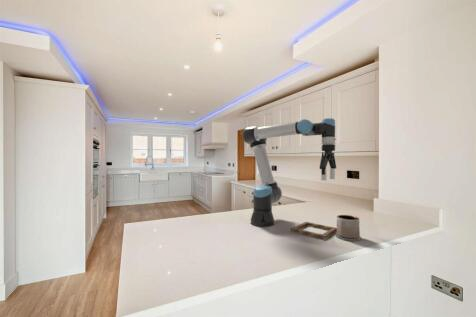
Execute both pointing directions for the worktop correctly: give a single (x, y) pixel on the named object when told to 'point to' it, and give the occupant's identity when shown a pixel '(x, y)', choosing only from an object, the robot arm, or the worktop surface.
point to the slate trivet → (348, 238)
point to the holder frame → (321, 236)
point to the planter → (348, 226)
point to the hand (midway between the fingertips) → (328, 179)
